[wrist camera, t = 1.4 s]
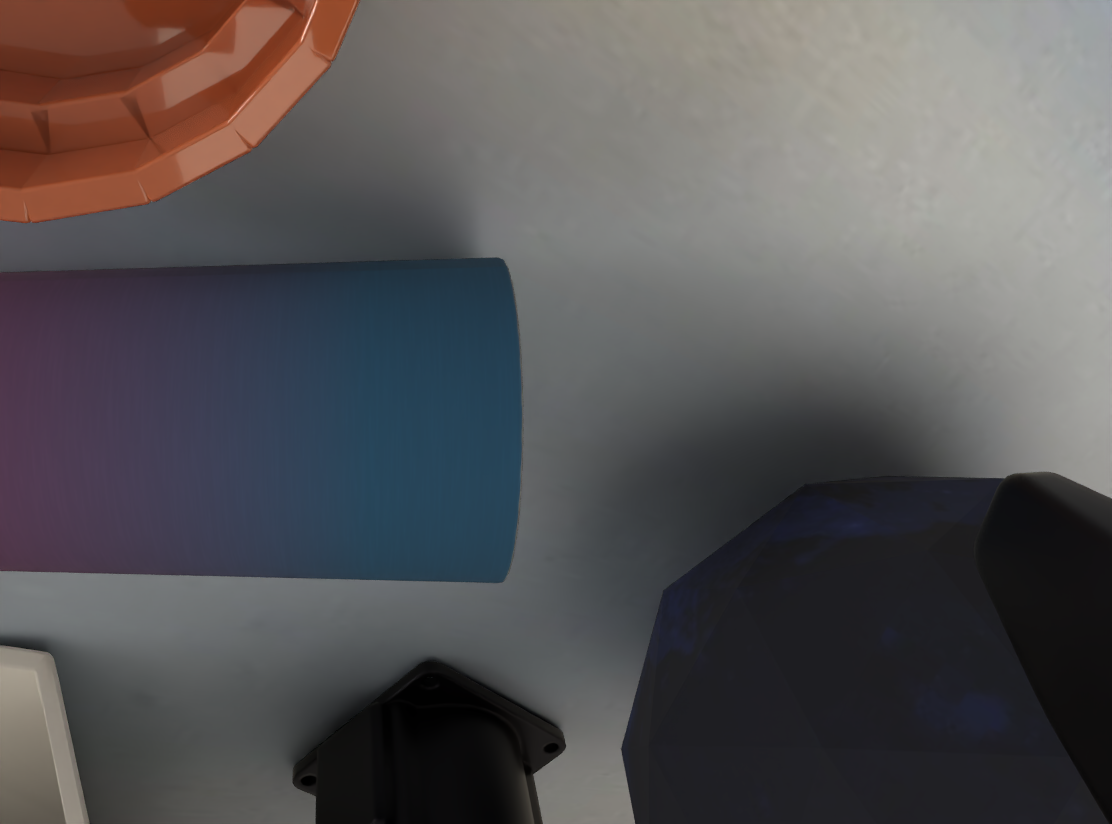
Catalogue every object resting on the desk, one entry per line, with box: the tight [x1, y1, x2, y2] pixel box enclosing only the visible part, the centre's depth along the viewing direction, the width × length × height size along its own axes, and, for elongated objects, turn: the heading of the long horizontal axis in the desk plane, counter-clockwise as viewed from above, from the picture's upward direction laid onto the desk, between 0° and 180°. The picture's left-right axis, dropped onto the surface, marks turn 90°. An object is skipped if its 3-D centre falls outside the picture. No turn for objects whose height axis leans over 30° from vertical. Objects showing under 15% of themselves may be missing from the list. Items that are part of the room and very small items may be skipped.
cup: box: [0, 258, 523, 583], centre depth 18 cm, size 7×7×15 cm
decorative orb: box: [621, 476, 1109, 824], centre depth 24 cm, size 14×15×15 cm
